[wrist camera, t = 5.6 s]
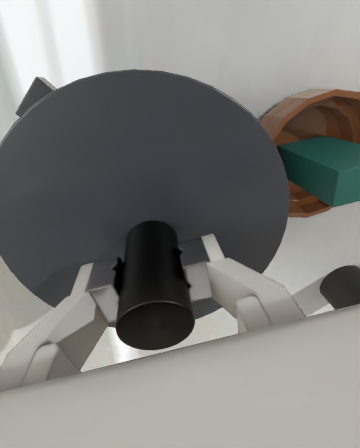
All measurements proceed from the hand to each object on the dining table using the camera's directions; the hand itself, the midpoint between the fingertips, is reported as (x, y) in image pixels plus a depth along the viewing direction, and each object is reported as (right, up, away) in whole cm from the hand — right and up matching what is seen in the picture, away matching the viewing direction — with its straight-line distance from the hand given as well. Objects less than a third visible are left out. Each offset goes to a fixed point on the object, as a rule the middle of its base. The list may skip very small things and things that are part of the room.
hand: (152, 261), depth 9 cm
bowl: (+14, +9, +16) cm, 23 cm away
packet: (+14, +9, +15) cm, 23 cm away
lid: (0, +1, +2) cm, 2 cm away
